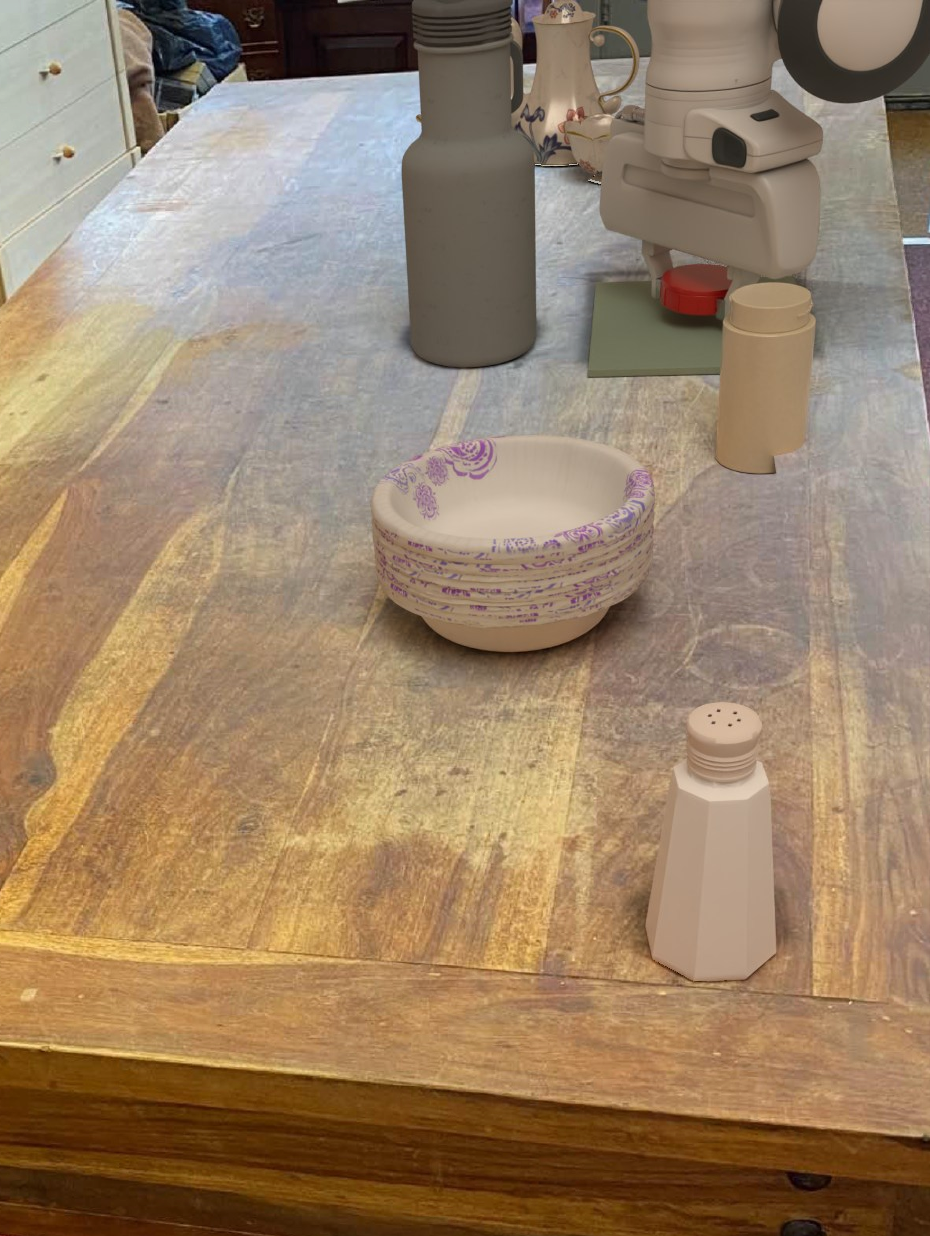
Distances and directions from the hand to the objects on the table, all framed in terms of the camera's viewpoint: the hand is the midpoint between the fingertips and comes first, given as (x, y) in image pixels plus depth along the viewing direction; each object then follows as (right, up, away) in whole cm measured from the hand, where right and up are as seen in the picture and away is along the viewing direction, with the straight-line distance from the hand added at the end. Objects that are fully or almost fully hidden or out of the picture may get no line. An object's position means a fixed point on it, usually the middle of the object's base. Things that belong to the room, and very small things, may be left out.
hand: (698, 309), depth 125 cm
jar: (0, -15, -19) cm, 25 cm away
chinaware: (-5, +29, +44) cm, 53 cm away
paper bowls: (-18, -28, -34) cm, 47 cm away
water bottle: (-17, -3, +2) cm, 17 cm away
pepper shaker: (-13, -44, -58) cm, 74 cm away
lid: (0, +2, -1) cm, 2 cm away
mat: (0, -1, +1) cm, 1 cm away
